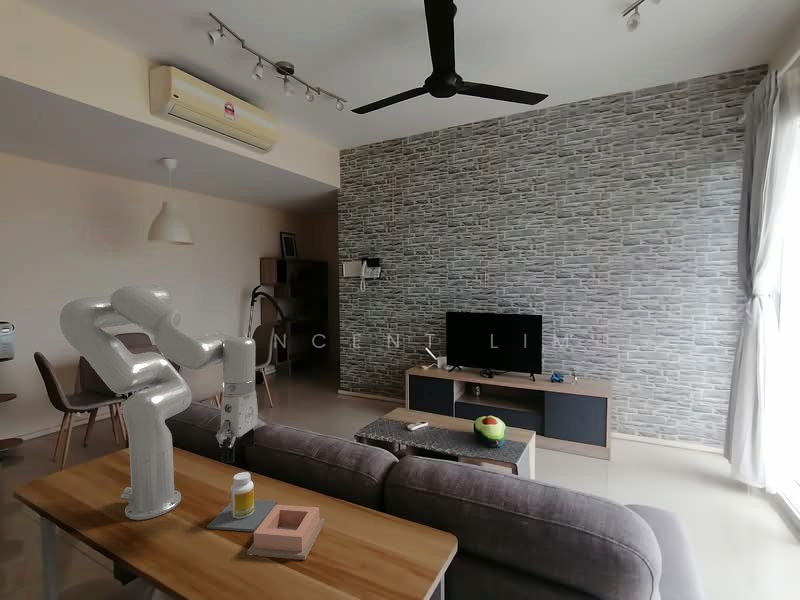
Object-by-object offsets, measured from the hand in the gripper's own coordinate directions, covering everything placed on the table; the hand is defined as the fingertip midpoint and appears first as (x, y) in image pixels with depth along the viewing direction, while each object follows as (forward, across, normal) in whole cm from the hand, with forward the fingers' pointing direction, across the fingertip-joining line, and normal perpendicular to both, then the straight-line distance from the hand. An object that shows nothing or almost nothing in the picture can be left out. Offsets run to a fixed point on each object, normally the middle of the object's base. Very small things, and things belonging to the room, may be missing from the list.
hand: (238, 453), depth 98 cm
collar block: (+15, -7, -16) cm, 24 cm away
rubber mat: (+16, 0, -2) cm, 16 cm away
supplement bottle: (+16, 0, -1) cm, 16 cm away
